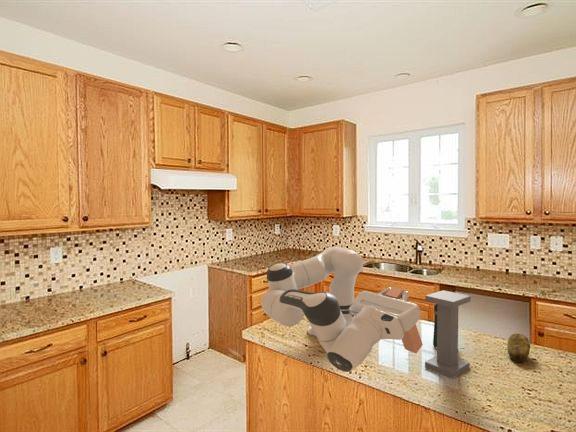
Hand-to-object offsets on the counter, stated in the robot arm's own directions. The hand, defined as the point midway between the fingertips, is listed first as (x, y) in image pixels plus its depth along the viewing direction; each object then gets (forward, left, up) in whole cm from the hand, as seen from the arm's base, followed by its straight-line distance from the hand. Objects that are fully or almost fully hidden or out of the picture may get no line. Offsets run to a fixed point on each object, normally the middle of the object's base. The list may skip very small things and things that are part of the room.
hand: (398, 291), depth 101 cm
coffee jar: (+17, +43, -33) cm, 57 cm away
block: (+1, +1, -11) cm, 11 cm away
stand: (+16, +24, -32) cm, 43 cm away
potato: (+42, +42, -33) cm, 68 cm away
